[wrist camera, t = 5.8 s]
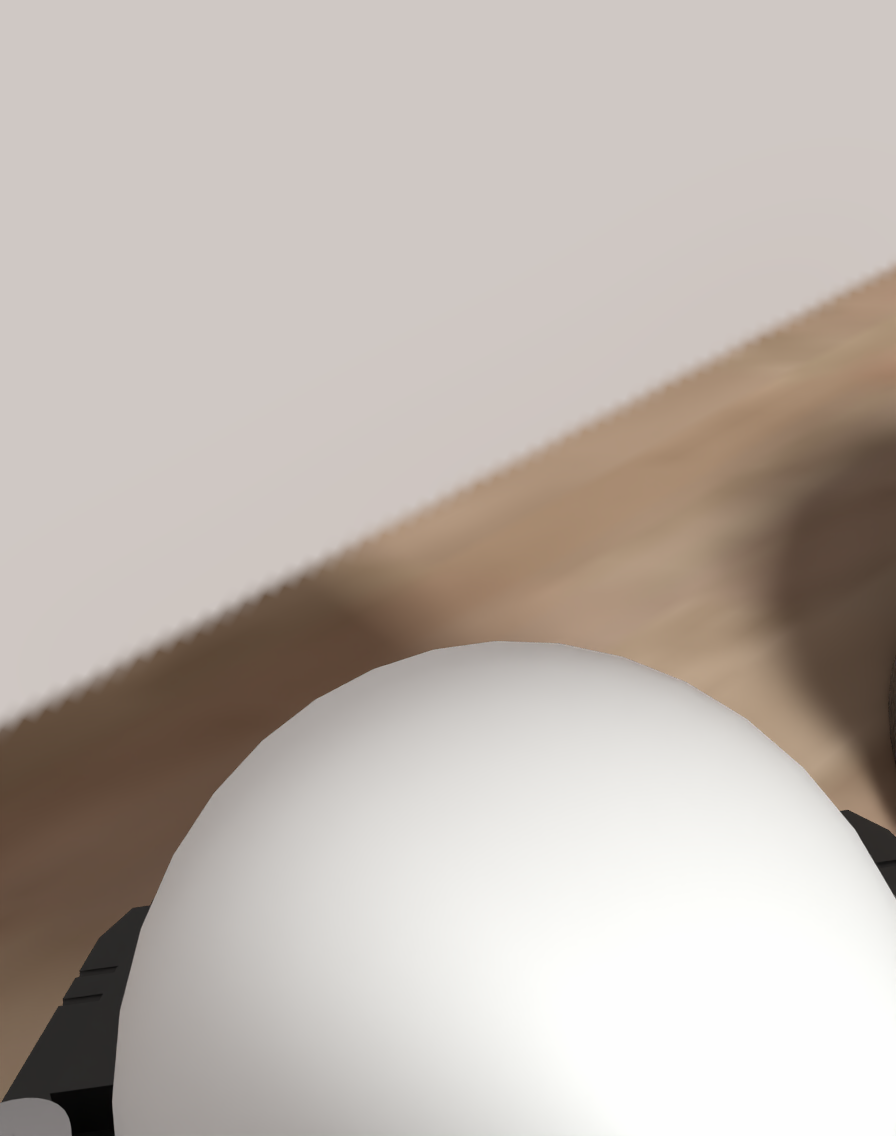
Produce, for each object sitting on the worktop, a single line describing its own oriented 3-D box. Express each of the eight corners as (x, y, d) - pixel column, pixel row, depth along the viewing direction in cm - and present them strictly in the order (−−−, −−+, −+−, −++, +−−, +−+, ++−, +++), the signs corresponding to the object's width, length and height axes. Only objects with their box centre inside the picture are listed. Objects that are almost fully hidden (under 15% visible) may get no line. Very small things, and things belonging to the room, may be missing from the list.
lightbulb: (418, 819, 16) (269, 407, 7) (753, 946, 14) (1173, 635, 5) (264, 1197, 13) (-395, 1410, 4) (664, 1409, 11) (1277, 2714, 2)
